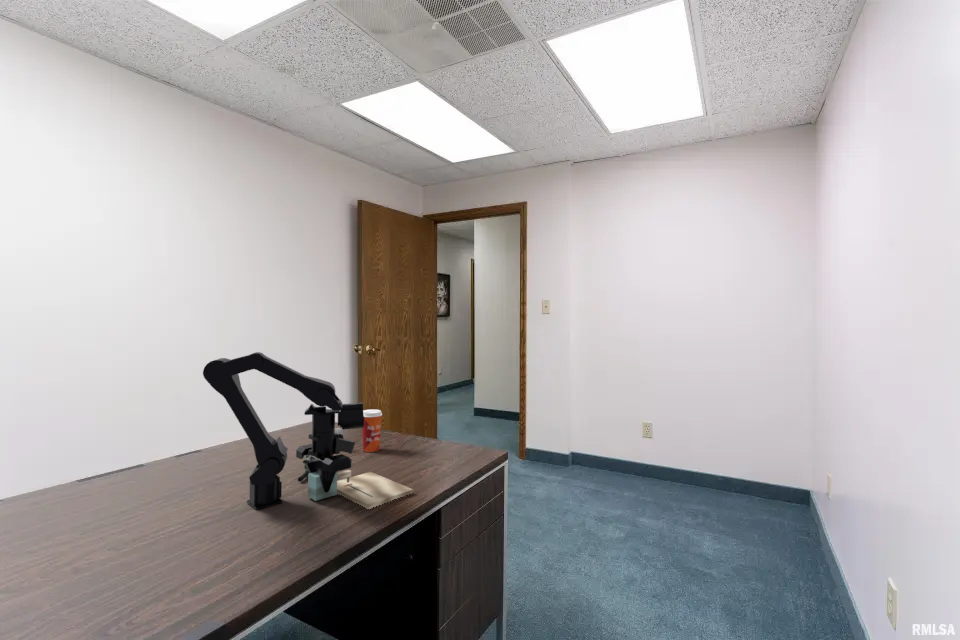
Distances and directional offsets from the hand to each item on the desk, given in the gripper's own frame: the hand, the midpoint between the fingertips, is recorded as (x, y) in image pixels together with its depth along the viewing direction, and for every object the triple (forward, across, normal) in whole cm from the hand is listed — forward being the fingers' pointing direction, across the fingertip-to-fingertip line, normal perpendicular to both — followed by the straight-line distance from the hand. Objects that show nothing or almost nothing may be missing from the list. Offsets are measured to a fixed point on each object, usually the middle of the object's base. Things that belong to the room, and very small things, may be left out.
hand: (322, 489), depth 118 cm
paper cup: (+2, +27, -33) cm, 43 cm away
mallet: (+2, 0, -3) cm, 3 cm away
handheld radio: (+2, +22, -10) cm, 25 cm away
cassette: (+2, +39, -23) cm, 45 cm away
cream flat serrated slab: (+2, -5, -11) cm, 12 cm away
